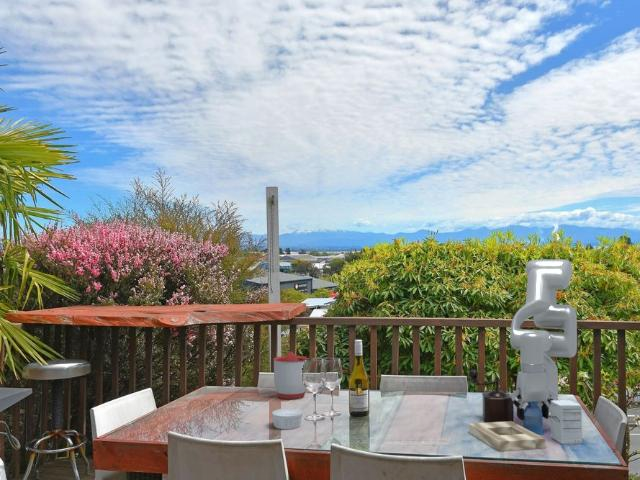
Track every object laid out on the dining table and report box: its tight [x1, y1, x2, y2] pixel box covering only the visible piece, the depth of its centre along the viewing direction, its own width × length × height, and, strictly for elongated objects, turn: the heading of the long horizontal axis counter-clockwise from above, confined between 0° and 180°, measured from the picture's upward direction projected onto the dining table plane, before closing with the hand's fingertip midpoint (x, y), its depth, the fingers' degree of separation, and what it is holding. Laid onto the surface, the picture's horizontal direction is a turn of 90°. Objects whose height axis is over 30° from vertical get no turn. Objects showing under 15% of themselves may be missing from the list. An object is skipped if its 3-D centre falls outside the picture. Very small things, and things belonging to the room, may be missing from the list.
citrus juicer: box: [273, 351, 308, 400], centre depth 272 cm, size 16×17×20 cm
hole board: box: [468, 421, 546, 452], centre depth 204 cm, size 16×22×3 cm
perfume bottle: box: [523, 402, 544, 436], centre depth 214 cm, size 6×6×12 cm
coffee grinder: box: [467, 369, 515, 423], centre depth 230 cm, size 16×11×18 cm
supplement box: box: [550, 399, 583, 445], centre depth 203 cm, size 7×7×13 cm
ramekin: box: [271, 407, 303, 431], centre depth 223 cm, size 11×11×5 cm
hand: (532, 418), depth 214 cm, fingers closed on perfume bottle, 8 cm apart
